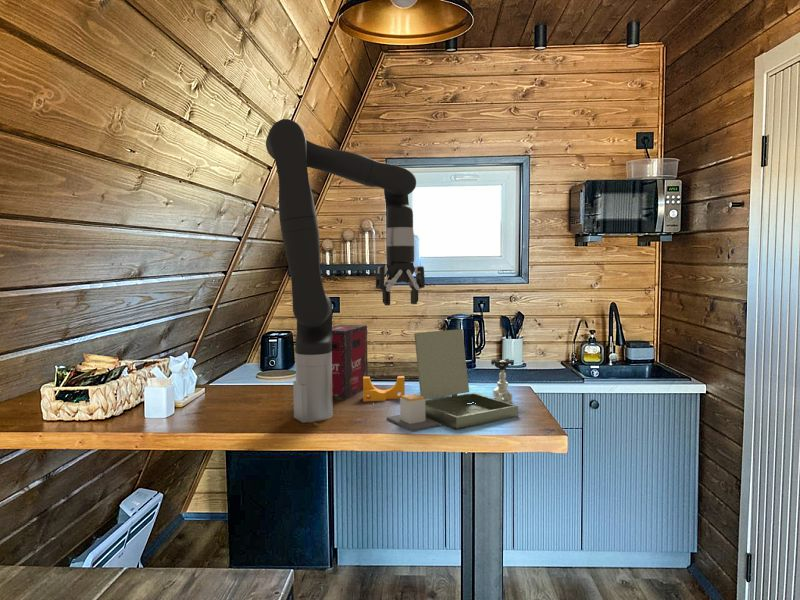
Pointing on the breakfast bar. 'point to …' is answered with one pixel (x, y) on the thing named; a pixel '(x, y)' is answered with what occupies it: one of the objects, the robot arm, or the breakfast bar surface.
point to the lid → (441, 363)
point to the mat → (414, 426)
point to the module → (412, 408)
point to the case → (468, 410)
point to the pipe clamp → (383, 394)
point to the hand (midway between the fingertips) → (400, 304)
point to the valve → (502, 381)
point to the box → (348, 360)
